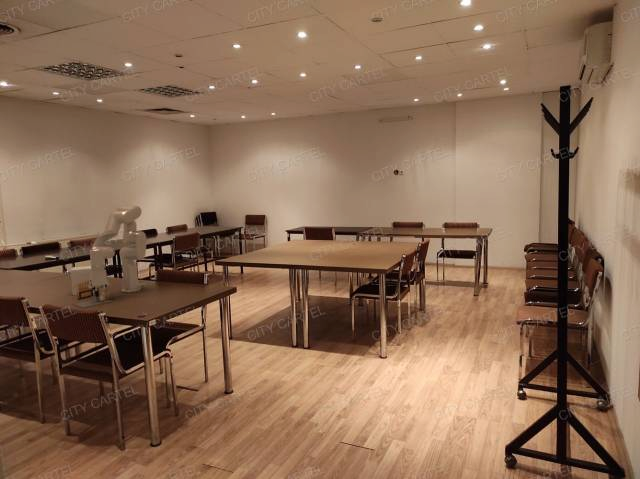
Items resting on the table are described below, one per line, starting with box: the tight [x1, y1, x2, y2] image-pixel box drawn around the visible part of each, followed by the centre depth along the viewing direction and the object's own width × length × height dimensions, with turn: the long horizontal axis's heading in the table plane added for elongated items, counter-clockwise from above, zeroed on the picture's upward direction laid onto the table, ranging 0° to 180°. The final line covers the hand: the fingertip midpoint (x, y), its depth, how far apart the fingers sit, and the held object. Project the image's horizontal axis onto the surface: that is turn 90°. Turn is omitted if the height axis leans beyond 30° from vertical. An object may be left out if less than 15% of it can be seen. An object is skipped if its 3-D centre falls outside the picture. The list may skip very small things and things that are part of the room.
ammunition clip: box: [76, 280, 95, 301], centre depth 308 cm, size 11×2×12 cm, turn 153°
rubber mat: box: [73, 298, 113, 309], centre depth 293 cm, size 18×14×1 cm
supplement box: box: [69, 265, 101, 296], centre depth 324 cm, size 17×13×18 cm
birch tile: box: [94, 287, 106, 301], centre depth 296 cm, size 3×7×8 cm, turn 49°
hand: (100, 295), depth 296 cm, fingers closed on birch tile, 3 cm apart
